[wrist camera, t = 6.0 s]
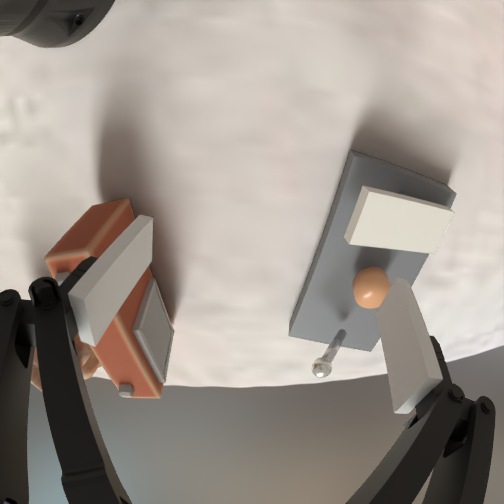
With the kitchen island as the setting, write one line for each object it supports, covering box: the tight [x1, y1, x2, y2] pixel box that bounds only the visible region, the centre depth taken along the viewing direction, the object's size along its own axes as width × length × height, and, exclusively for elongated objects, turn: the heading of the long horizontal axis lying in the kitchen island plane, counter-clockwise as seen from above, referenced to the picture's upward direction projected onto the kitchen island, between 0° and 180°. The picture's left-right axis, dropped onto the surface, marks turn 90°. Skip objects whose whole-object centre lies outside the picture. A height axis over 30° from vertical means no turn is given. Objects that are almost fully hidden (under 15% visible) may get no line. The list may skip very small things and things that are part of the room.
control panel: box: [45, 198, 174, 398], centre depth 34 cm, size 21×7×15 cm, turn 7°
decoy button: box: [352, 267, 391, 309], centre depth 31 cm, size 4×4×2 cm
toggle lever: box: [312, 329, 347, 378], centre depth 33 cm, size 2×2×8 cm
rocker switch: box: [344, 186, 455, 254], centre depth 26 cm, size 5×11×1 cm, turn 79°
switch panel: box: [289, 150, 456, 352], centre depth 33 cm, size 24×12×4 cm, turn 169°
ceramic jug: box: [31, 333, 102, 391], centre depth 45 cm, size 18×14×14 cm
